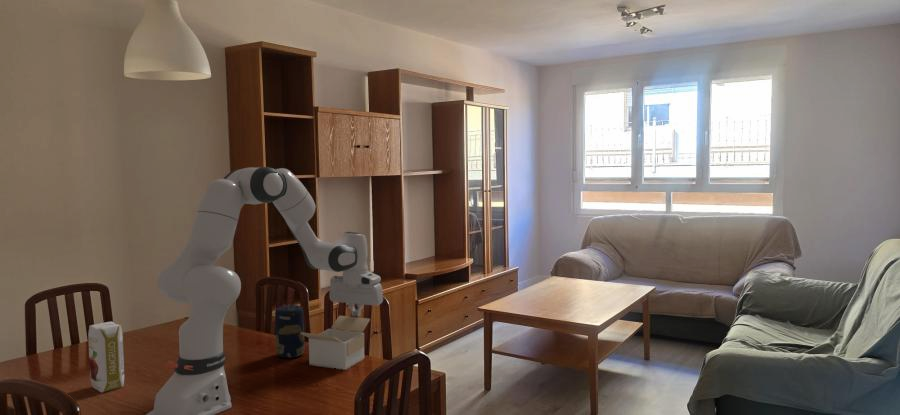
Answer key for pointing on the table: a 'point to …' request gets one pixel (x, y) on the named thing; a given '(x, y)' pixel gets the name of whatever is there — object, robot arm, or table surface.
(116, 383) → the juice carton
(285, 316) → the canister
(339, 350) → the carton
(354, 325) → the flap far
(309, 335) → the flap near
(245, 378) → the table surface
